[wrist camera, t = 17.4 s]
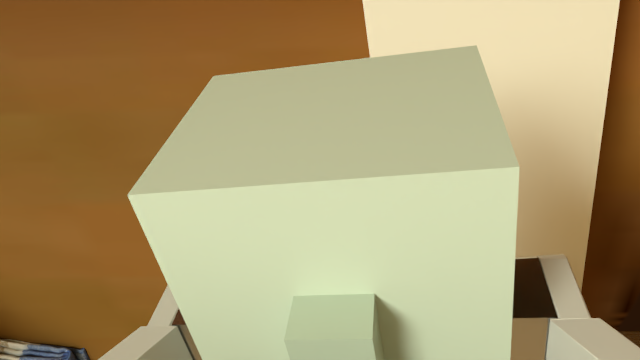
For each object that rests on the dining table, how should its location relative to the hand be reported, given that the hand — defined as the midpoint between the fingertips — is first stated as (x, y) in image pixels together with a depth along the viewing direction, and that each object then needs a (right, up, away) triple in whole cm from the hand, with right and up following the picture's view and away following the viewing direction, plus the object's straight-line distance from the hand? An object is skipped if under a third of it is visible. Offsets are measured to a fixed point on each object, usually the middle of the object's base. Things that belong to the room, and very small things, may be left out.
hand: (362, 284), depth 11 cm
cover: (0, +1, +1) cm, 1 cm away
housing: (+9, +1, +21) cm, 22 cm away
